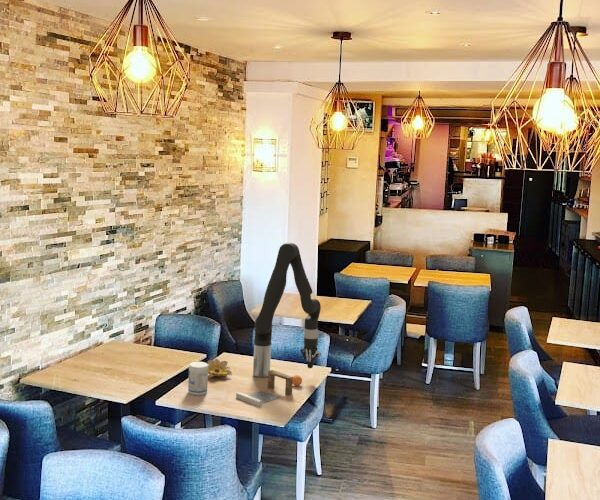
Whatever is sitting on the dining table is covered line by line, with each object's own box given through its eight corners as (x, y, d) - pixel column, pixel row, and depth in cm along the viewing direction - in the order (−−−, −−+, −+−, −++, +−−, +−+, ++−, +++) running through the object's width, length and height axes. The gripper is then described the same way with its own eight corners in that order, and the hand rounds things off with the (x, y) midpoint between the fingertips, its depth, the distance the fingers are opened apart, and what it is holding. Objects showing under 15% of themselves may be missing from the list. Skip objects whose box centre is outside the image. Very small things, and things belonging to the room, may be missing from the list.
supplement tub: (184, 392, 348) (184, 364, 346) (198, 387, 355) (199, 360, 353) (197, 397, 342) (197, 368, 340) (211, 392, 349) (212, 364, 347)
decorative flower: (205, 379, 364) (206, 359, 365) (200, 377, 374) (200, 358, 375) (233, 378, 369) (233, 359, 370) (226, 376, 380) (227, 358, 381)
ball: (291, 387, 362) (292, 377, 361) (291, 383, 367) (291, 373, 367) (302, 387, 362) (302, 377, 361) (301, 383, 368) (302, 373, 367)
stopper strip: (258, 406, 333) (259, 401, 332) (236, 397, 343) (236, 392, 343) (261, 405, 334) (261, 400, 334) (239, 396, 345) (239, 391, 344)
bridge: (288, 395, 349) (288, 378, 348) (267, 388, 359) (268, 371, 357) (292, 394, 351) (292, 376, 350) (271, 386, 361) (272, 369, 360)
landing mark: (261, 404, 336) (261, 403, 336) (243, 396, 345) (243, 396, 345) (280, 397, 346) (280, 397, 346) (261, 390, 355) (261, 390, 355)
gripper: (325, 337, 367) (324, 369, 370) (306, 332, 376) (305, 363, 378) (316, 340, 362) (315, 372, 364) (296, 335, 370) (296, 366, 373)
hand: (310, 367), depth 371 cm, fingers closed
